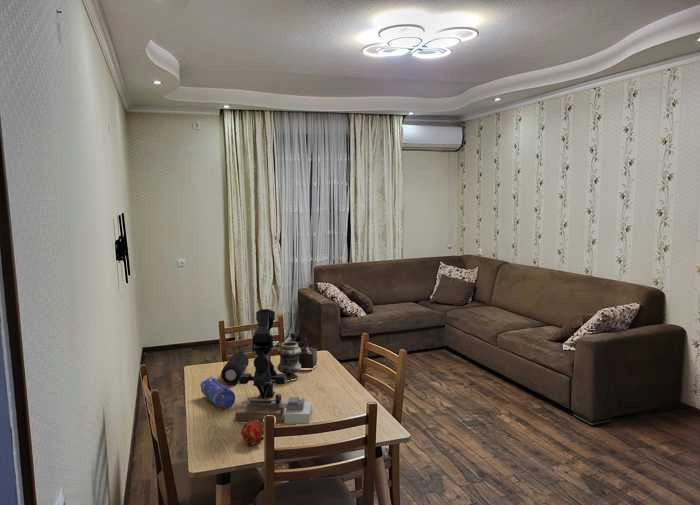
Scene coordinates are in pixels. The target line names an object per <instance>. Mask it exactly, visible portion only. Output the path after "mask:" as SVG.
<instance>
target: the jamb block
mask: <svg viewBox="0 0 700 505" xmlns="http://www.w3.org/2000/svg"><path fill="white" fill-rule="evenodd" d="M287 401H288V404H287V408H285V410H284V413H283V416H284V424H307V423H309V424H310V422H311V418H312V415H313V414H312V413H313V402H310V401H309V402H306V401H305V398H304V397H302V398H301V399H300V397H299V396H289V399H288V400H287ZM299 401H300V404H298V402H299ZM311 414H312V415H311Z"/></svg>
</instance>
